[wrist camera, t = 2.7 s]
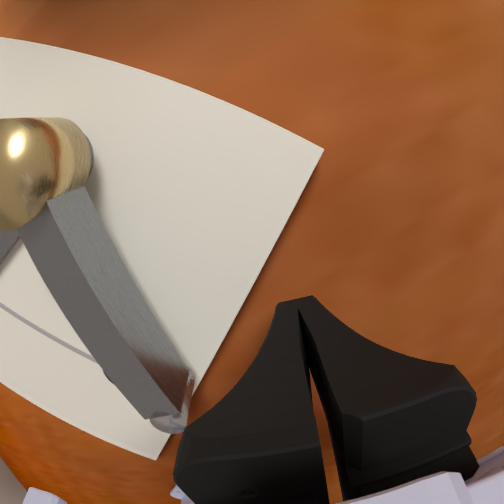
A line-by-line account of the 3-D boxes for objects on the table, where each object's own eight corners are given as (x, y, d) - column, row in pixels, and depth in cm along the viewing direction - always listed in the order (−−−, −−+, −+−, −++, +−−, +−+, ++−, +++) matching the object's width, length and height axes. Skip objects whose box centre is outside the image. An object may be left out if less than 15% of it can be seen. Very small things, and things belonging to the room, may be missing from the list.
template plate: (158, 449, 18) (154, 467, 16) (-42, 336, 15) (-53, 348, 13) (318, 148, 11) (328, 150, 10) (-8, 37, 9) (-28, 33, 7)
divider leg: (18, 146, 9) (-42, 157, 6) (76, 100, 9) (17, 95, 6) (158, 392, 13) (141, 449, 10) (219, 377, 13) (212, 439, 10)
